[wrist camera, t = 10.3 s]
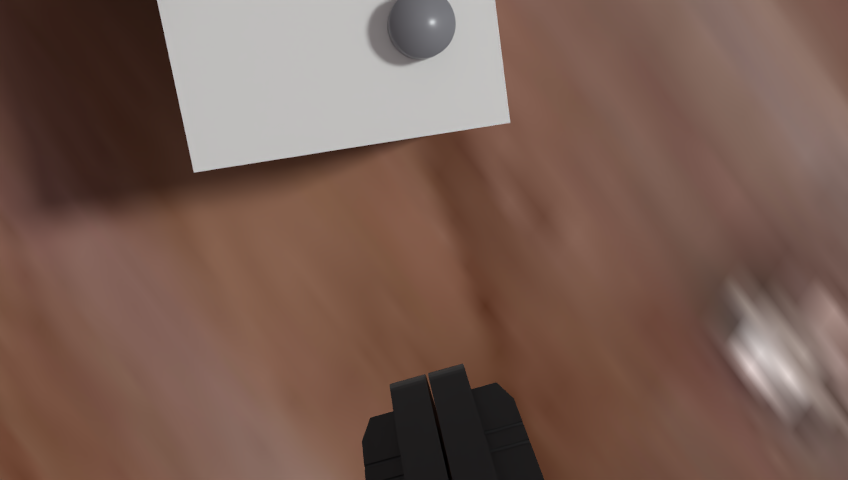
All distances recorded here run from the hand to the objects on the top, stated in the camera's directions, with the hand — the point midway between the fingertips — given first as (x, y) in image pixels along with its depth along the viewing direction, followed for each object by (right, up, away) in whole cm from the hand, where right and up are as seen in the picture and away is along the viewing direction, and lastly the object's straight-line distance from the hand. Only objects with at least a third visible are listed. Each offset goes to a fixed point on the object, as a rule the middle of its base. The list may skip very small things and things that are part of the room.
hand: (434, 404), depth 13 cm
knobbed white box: (-5, +15, +20) cm, 26 cm away
